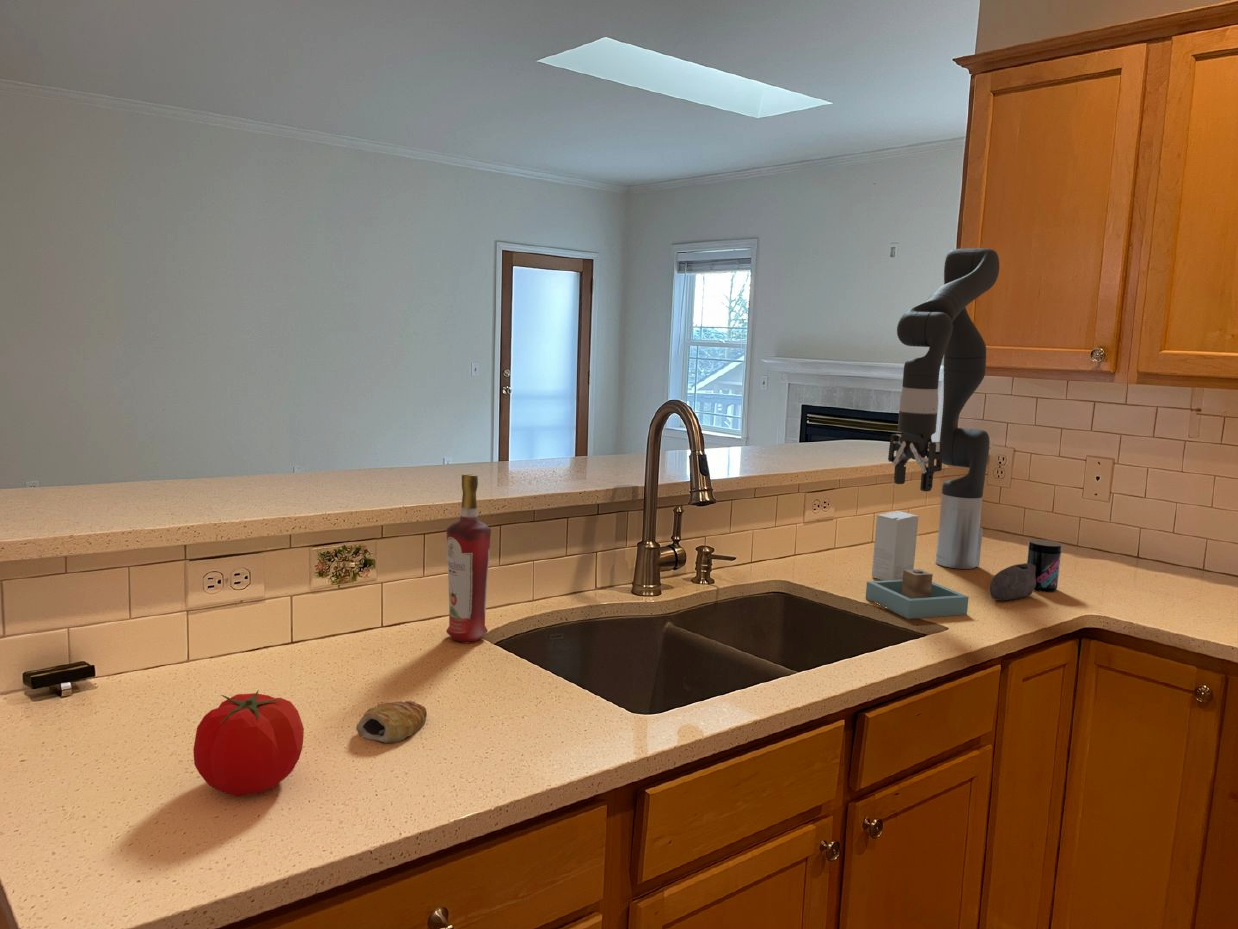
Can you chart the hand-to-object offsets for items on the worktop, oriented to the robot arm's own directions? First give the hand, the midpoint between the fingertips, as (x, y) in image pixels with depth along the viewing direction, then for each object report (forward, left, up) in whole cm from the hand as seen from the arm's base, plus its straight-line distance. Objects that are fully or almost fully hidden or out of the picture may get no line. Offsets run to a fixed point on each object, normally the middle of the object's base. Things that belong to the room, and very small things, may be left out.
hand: (912, 487), depth 190 cm
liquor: (+94, +8, -23) cm, 97 cm away
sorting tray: (+3, +8, -23) cm, 25 cm away
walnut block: (+3, +8, -22) cm, 24 cm away
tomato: (+126, +52, -23) cm, 138 cm away
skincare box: (-6, -12, -23) cm, 27 cm away
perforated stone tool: (-22, +7, -23) cm, 33 cm away
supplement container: (-35, +2, -23) cm, 42 cm away
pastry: (+110, +42, -24) cm, 120 cm away
